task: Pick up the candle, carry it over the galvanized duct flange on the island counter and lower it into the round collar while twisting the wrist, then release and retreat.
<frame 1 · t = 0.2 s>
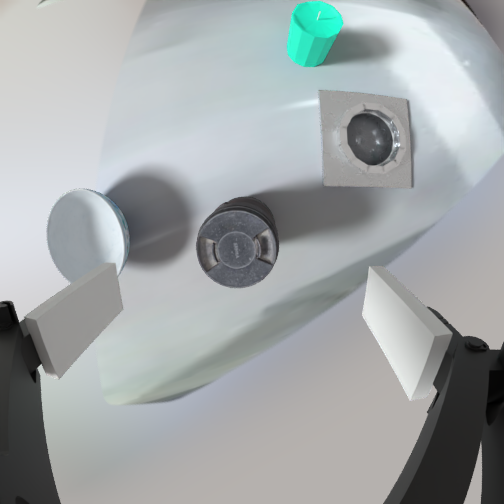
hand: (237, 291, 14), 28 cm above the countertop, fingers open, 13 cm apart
chinaware: (107, 230, 42), on the countertop
duct flange: (367, 139, 36), on the countertop
candle: (306, 51, 33), on the countertop
camera lens: (246, 222, 41), on the countertop
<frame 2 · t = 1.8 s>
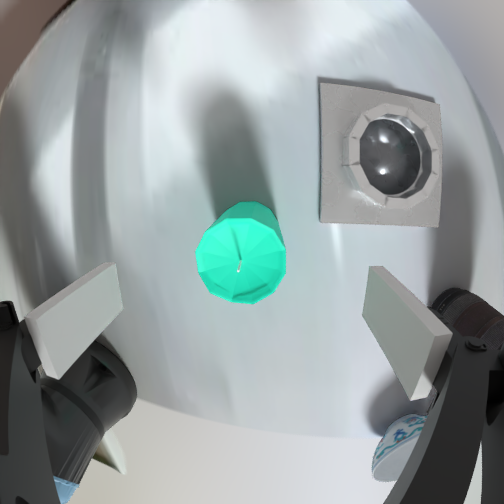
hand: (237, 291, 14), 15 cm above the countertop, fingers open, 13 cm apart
chinaware: (402, 425, 36), on the countertop
duct flange: (385, 156, 25), on the countertop
candle: (249, 230, 28), on the countertop
camera lens: (447, 310, 30), on the countertop
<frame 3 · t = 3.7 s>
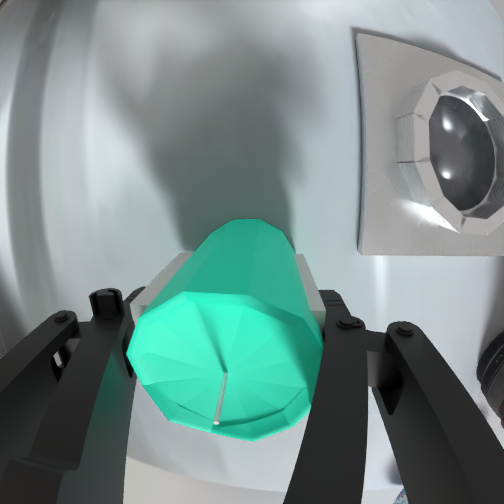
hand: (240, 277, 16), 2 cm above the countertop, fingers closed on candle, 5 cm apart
duct flange: (452, 152, 15), on the countertop
candle: (248, 265, 18), on the countertop, touching gripper
camera lens: (497, 354, 19), on the countertop
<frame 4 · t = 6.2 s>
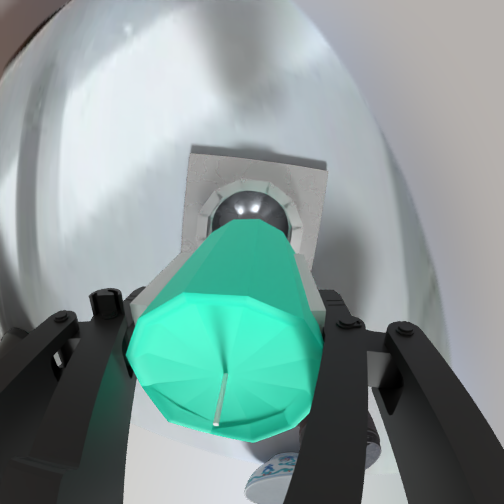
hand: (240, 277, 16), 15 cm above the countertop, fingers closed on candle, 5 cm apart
chinaware: (287, 460, 41), on the countertop
duct flange: (250, 227, 30), on the countertop
candle: (248, 265, 18), point 12 cm above the countertop, touching gripper
camera lens: (322, 372, 35), on the countertop
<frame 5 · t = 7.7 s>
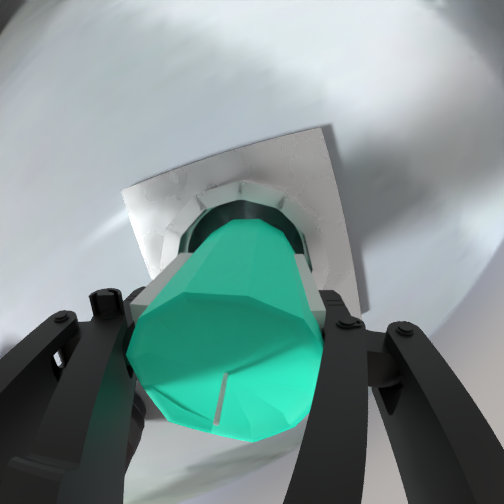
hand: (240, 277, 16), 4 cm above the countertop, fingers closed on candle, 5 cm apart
duct flange: (246, 255, 20), on the countertop
candle: (248, 265, 18), point 2 cm above the countertop, touching gripper
camera lens: (119, 399, 25), on the countertop
when the fingers open (4 cm above the countertop, at t = 8.8 s): candle drops 1 cm, resting on duct flange.
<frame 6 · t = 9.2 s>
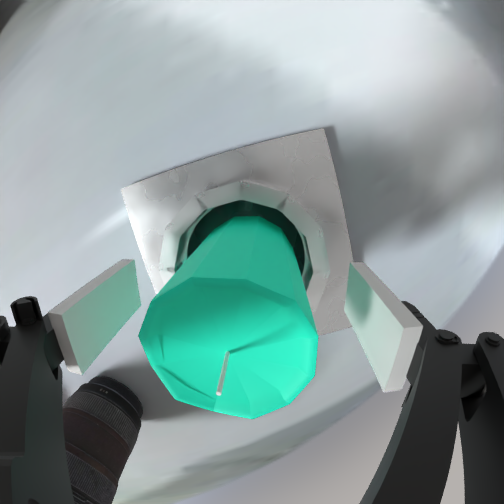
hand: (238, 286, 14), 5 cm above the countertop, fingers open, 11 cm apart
duct flange: (246, 256, 19), on the countertop
candle: (248, 259, 19), point 1 cm above the countertop, touching duct flange
camera lens: (116, 398, 25), on the countertop
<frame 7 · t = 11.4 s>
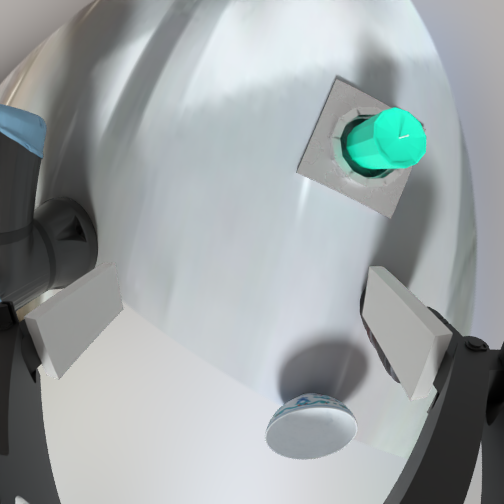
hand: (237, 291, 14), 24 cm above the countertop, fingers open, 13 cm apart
chinaware: (308, 404, 45), on the countertop
duct flange: (365, 148, 33), on the countertop
candle: (367, 146, 32), point 1 cm above the countertop, touching duct flange
camera lens: (380, 299, 38), on the countertop
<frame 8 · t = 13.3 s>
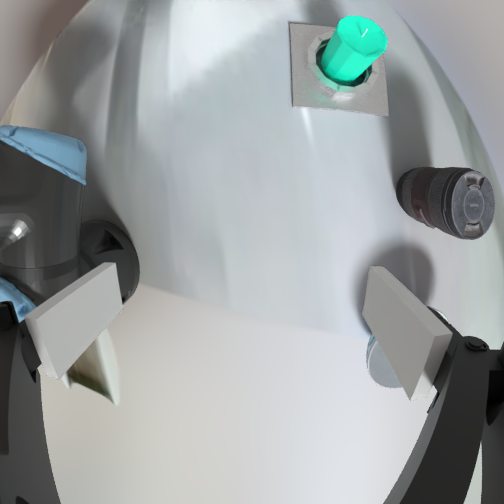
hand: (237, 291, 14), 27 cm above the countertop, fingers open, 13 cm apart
chinaware: (394, 327, 44), on the countertop
duct flange: (339, 67, 33), on the countertop
candle: (340, 65, 32), point 1 cm above the countertop, touching duct flange
camera lens: (414, 192, 37), on the countertop
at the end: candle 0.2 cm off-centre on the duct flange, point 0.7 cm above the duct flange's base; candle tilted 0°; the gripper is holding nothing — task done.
